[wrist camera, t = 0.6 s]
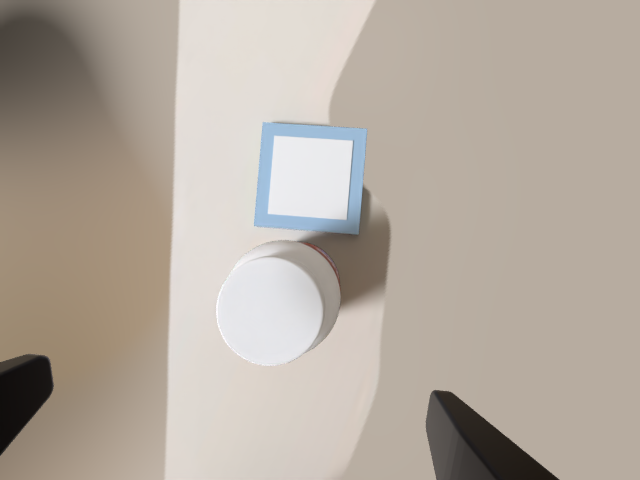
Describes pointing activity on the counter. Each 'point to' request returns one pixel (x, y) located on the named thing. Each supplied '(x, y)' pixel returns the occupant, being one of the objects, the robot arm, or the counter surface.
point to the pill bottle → (279, 302)
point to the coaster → (310, 178)
